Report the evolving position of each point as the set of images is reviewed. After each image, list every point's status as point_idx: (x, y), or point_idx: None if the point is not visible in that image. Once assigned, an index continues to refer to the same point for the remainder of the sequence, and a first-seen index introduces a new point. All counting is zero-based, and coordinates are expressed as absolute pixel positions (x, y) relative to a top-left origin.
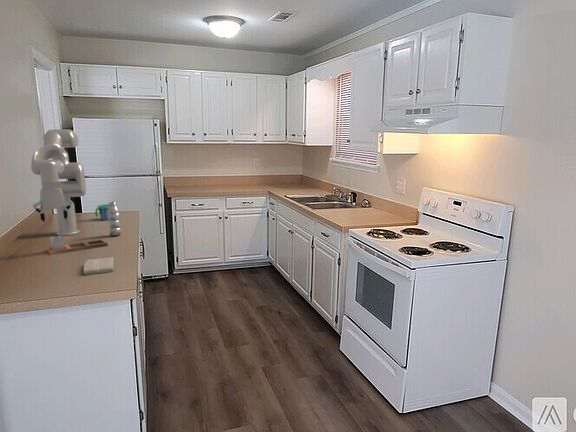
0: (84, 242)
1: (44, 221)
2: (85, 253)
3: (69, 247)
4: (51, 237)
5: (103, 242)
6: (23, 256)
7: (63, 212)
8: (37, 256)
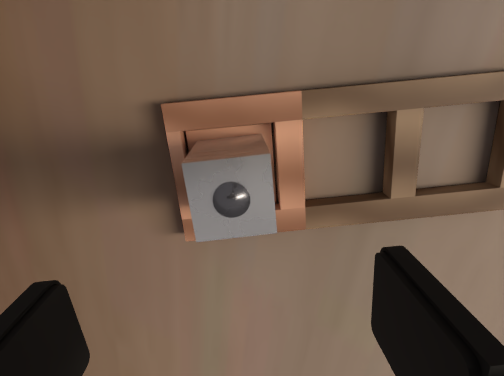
0: (409, 102)
1: (83, 356)
2: (345, 293)
3: (296, 192)
4: (192, 184)
5: (501, 162)
6: (46, 177)
7: (439, 348)
8: (125, 222)
